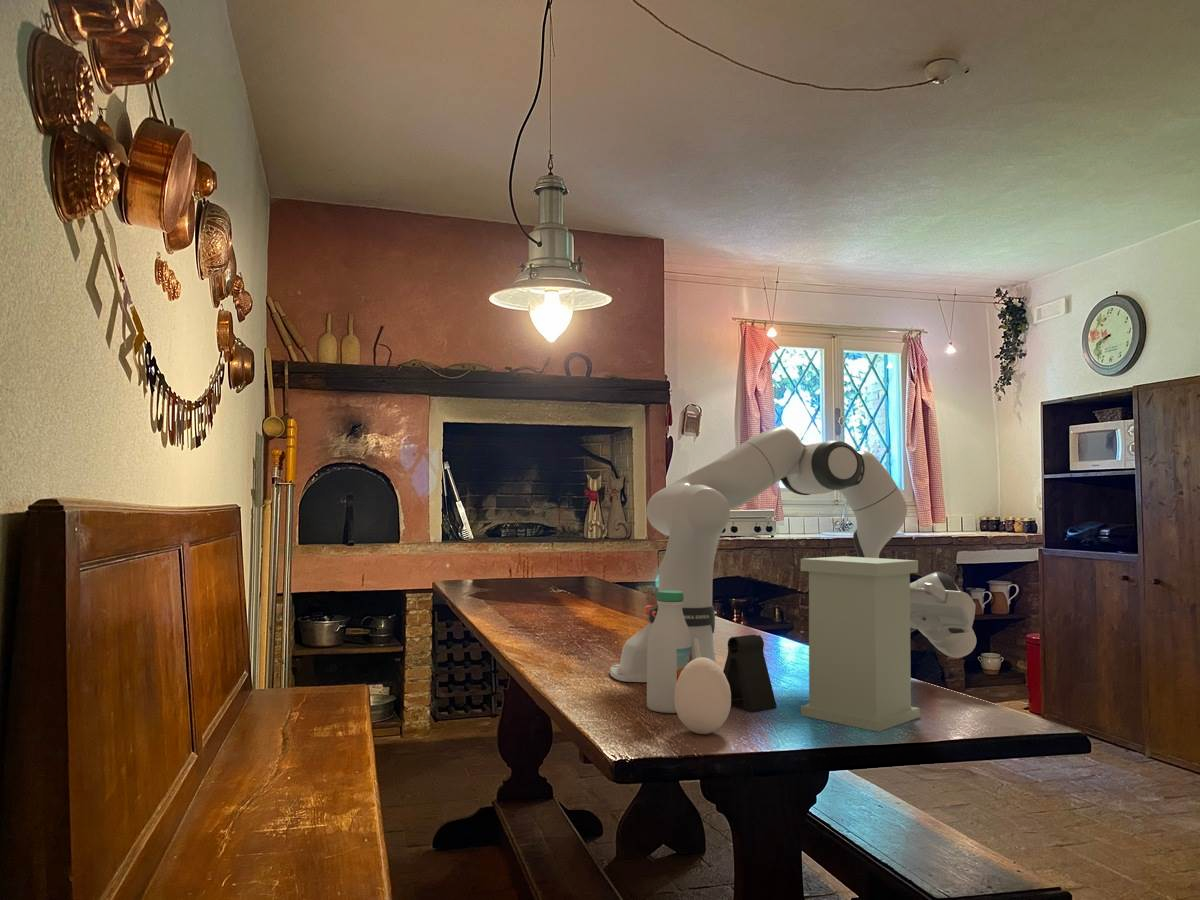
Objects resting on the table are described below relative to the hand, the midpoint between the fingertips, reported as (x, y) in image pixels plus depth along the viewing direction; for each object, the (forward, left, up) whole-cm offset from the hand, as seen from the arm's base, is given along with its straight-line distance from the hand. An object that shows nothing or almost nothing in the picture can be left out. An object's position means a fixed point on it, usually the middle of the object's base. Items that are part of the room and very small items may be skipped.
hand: (905, 584), depth 174 cm
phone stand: (-38, -17, -20) cm, 46 cm away
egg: (-50, -35, -20) cm, 64 cm away
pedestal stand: (-21, -26, -19) cm, 39 cm away
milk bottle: (-52, -19, -20) cm, 59 cm away
